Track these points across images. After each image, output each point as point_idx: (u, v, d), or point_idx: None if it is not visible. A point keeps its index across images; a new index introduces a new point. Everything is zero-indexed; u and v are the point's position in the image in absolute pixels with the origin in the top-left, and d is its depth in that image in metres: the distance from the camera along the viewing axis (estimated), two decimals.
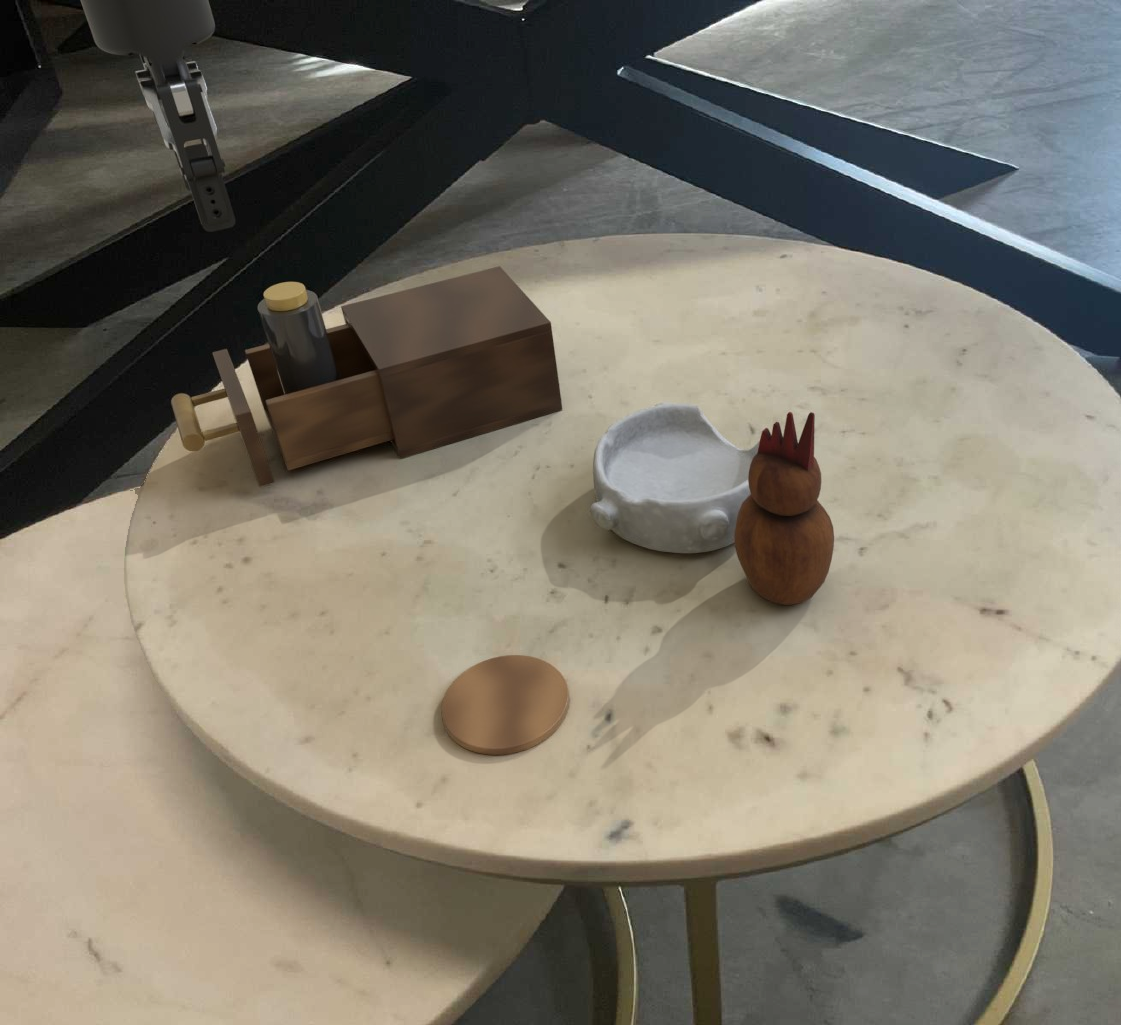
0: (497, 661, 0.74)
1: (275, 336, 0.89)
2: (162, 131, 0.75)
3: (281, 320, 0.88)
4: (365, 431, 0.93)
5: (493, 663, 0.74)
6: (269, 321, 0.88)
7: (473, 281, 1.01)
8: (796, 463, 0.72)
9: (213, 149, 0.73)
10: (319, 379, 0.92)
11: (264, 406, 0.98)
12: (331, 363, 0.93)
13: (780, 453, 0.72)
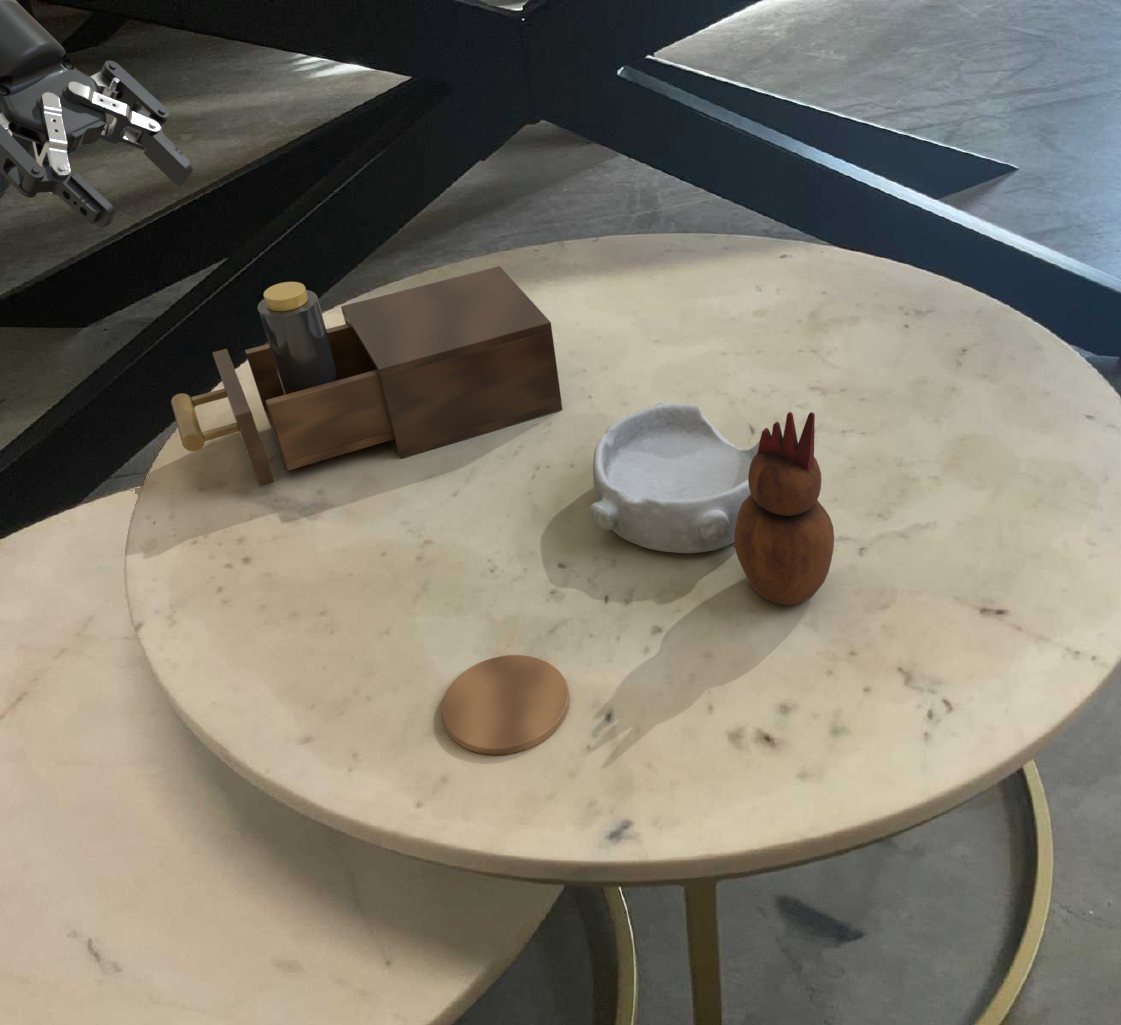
0: (497, 661, 0.74)
1: (275, 336, 0.89)
2: (37, 161, 0.86)
3: (281, 320, 0.88)
4: (365, 431, 0.93)
5: (493, 663, 0.74)
6: (269, 321, 0.88)
7: (473, 281, 1.01)
8: (796, 463, 0.72)
9: (16, 163, 0.82)
10: (319, 379, 0.92)
11: (264, 406, 0.98)
12: (331, 363, 0.93)
13: (780, 453, 0.72)
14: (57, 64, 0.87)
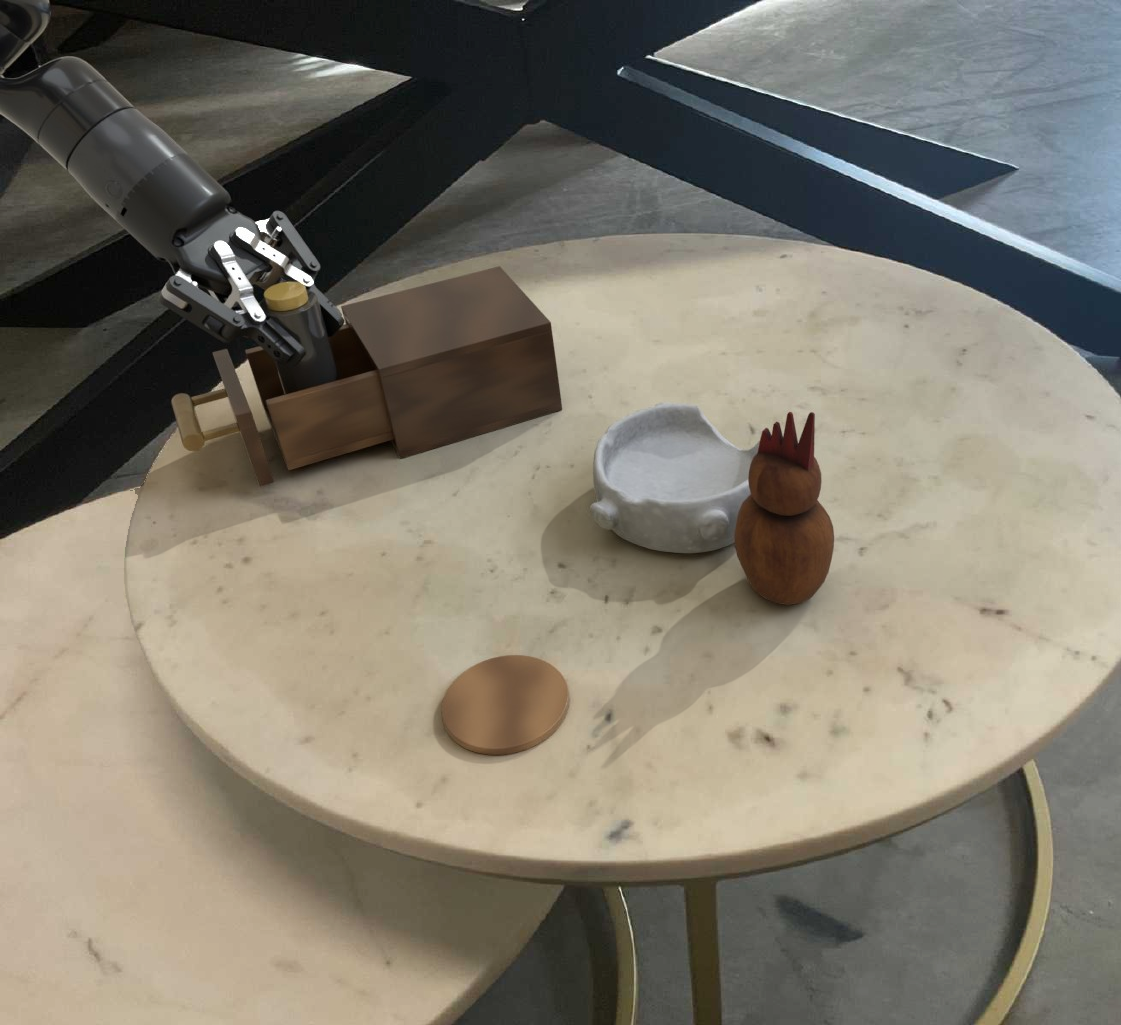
0: (497, 661, 0.74)
1: None
2: None
3: (282, 320, 0.88)
4: (365, 431, 0.93)
5: (493, 663, 0.74)
6: None
7: (473, 281, 1.01)
8: (796, 463, 0.72)
9: (218, 318, 0.85)
10: (319, 379, 0.92)
11: (264, 406, 0.98)
12: (331, 363, 0.93)
13: (780, 453, 0.72)
14: (223, 210, 0.89)
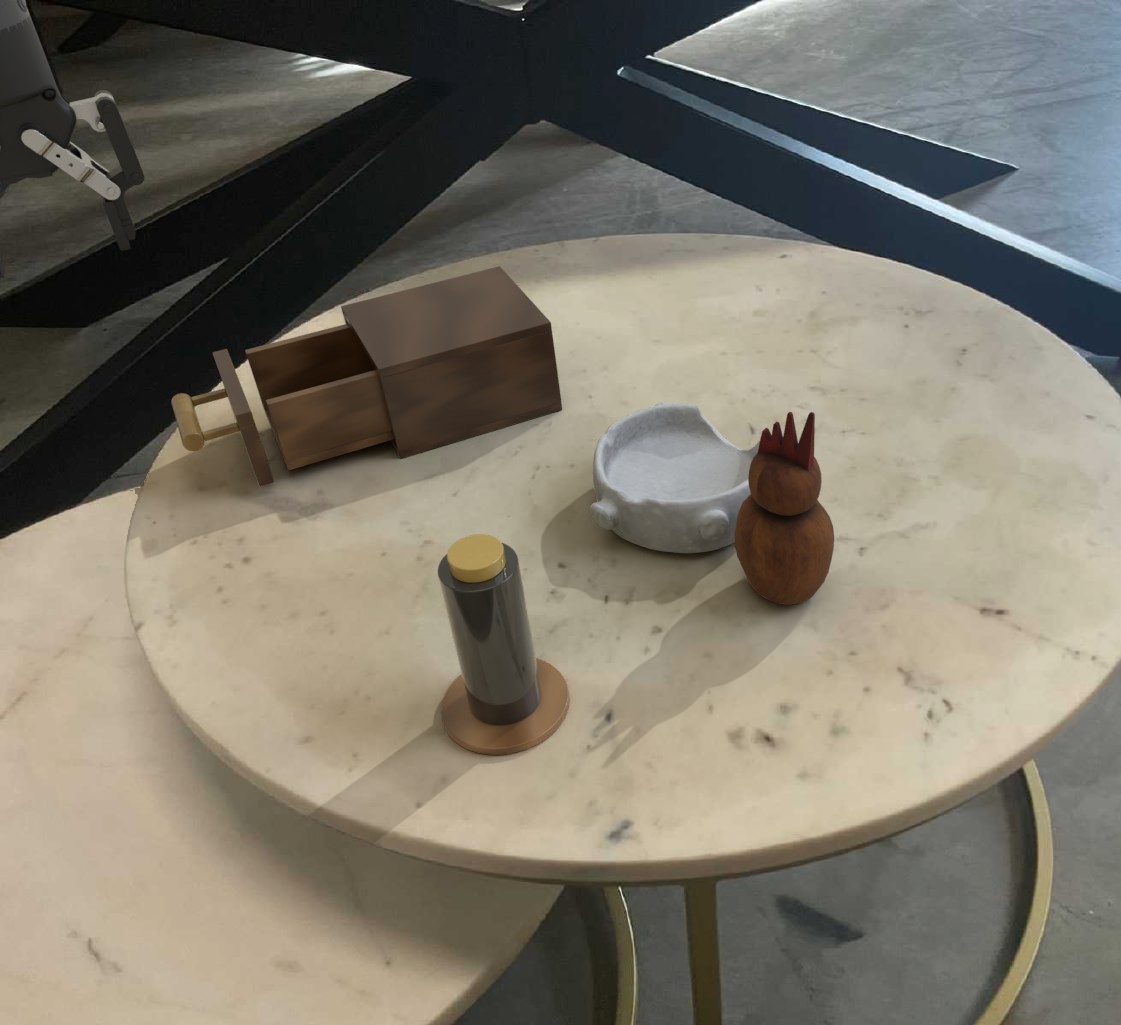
0: None
1: (462, 614, 0.64)
2: None
3: (474, 597, 0.63)
4: (365, 431, 0.93)
5: None
6: (456, 596, 0.64)
7: (473, 281, 1.01)
8: (796, 463, 0.72)
9: None
10: (515, 661, 0.67)
11: (264, 406, 0.98)
12: (529, 637, 0.68)
13: (780, 453, 0.72)
14: None
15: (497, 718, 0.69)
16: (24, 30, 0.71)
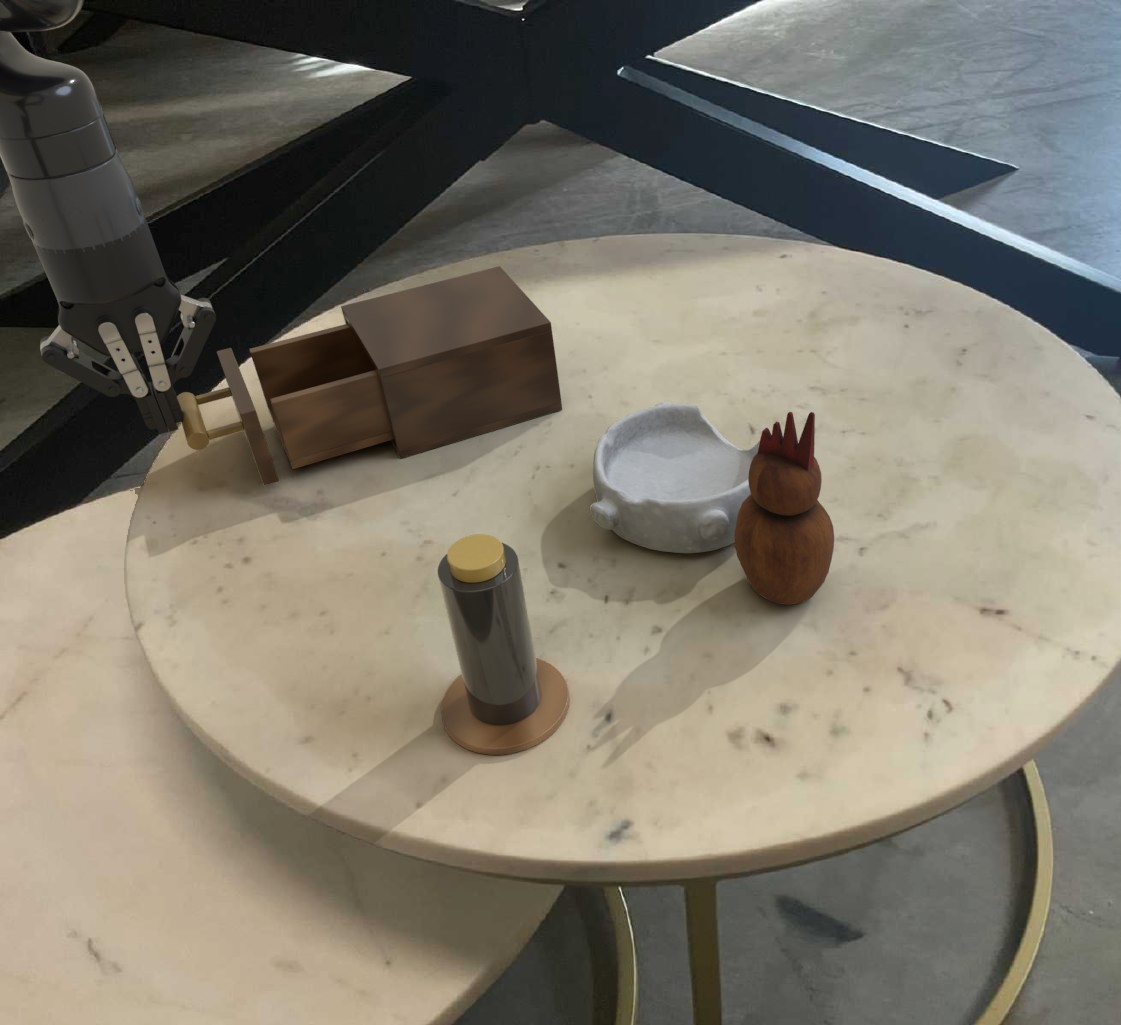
0: None
1: (462, 614, 0.64)
2: None
3: (474, 597, 0.63)
4: (369, 430, 0.93)
5: None
6: (456, 596, 0.64)
7: (473, 281, 1.01)
8: (796, 463, 0.72)
9: (93, 387, 0.85)
10: (515, 661, 0.67)
11: (268, 405, 0.98)
12: (529, 637, 0.68)
13: (780, 453, 0.72)
14: None
15: (497, 718, 0.69)
16: (141, 232, 0.80)
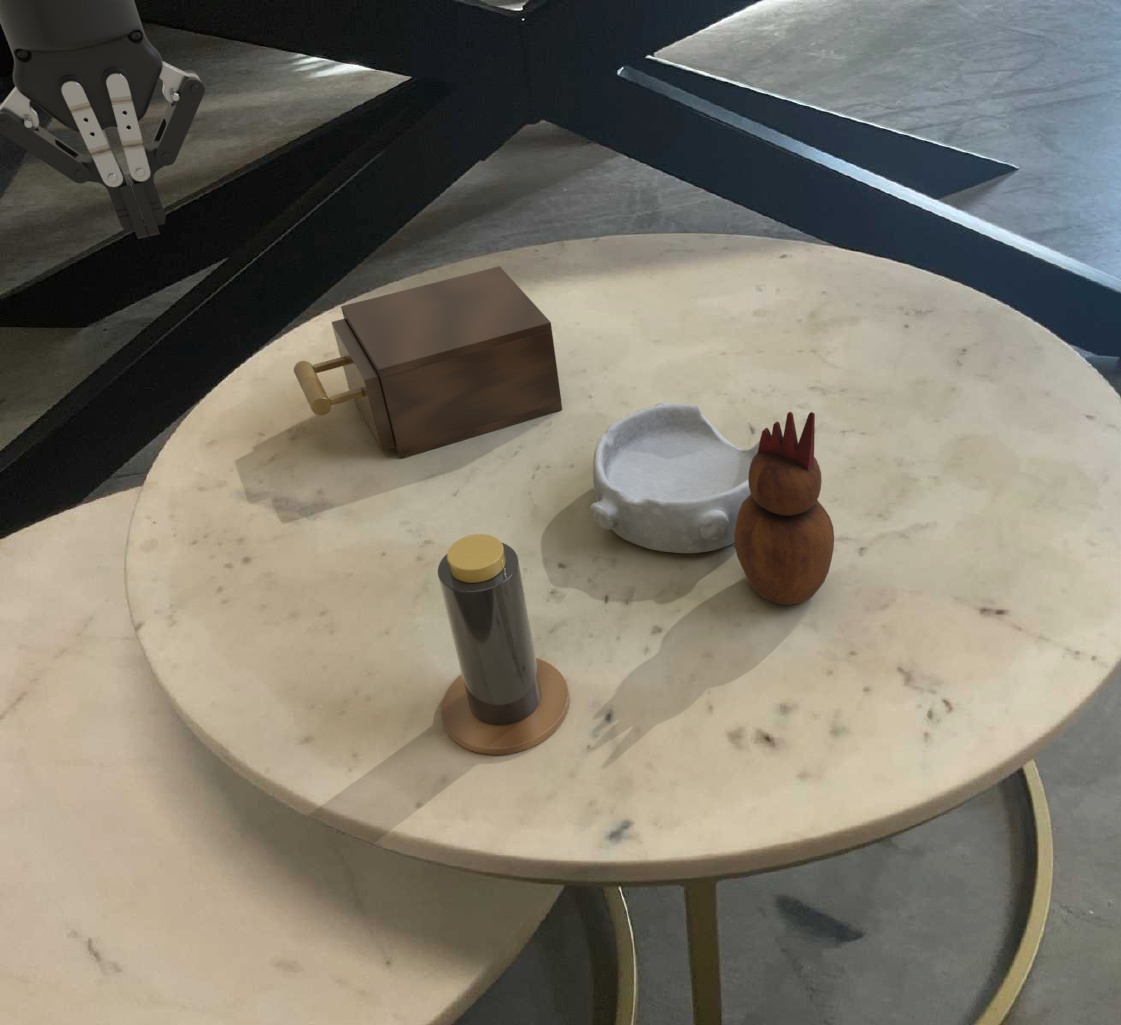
0: None
1: (462, 614, 0.64)
2: None
3: (474, 597, 0.63)
4: None
5: None
6: (456, 596, 0.64)
7: (473, 281, 1.01)
8: (796, 463, 0.72)
9: (56, 169, 0.71)
10: (515, 661, 0.67)
11: None
12: (529, 637, 0.68)
13: (780, 453, 0.72)
14: None
15: (497, 718, 0.69)
16: None
